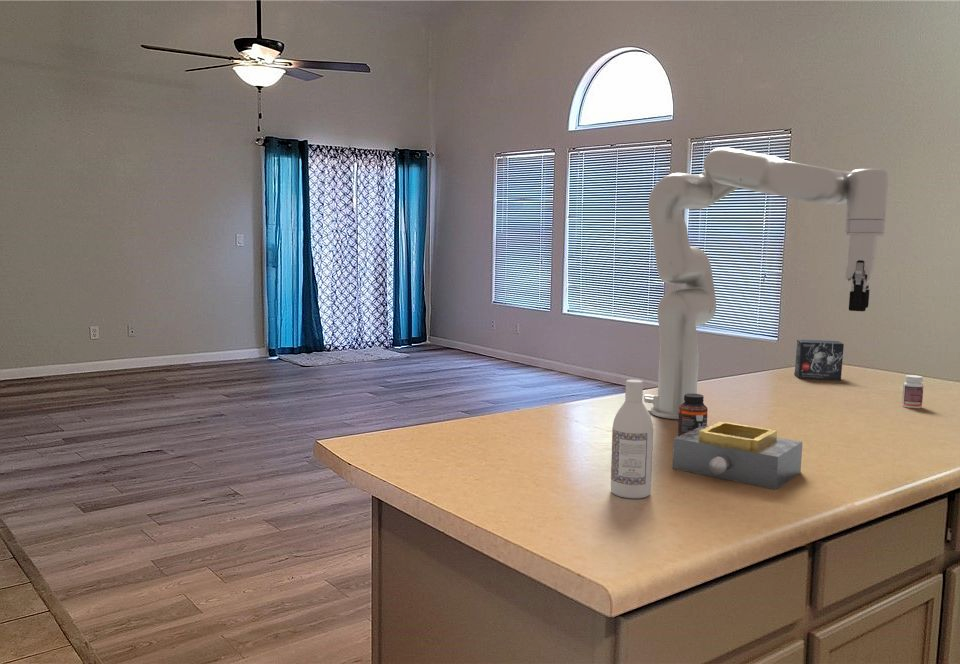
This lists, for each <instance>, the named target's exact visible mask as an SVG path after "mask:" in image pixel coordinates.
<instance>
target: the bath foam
mask: <svg viewBox="0 0 960 664" xmlns="http://www.w3.org/2000/svg"><path fill="white" fill-rule="evenodd" d="M643 395H644V381H643V380H642V379H641V380H640V379H626V381H625V396H624V397H625V399H624V400H625V401H624V402H623V403H622V404H621V406H620V407H619V409H618V410H617V412H616V414H615V416H614V419H613V423H612V429H611V430H612V432H611V433H612V434H611V435H612V437H611V438H612V439H611V459H610V460H611V461H610V463H611V465H610V492H611V493H612V494H613V495H615V496H617V497H621V498H624V499H633V500H634V499H643V498H647V497H648V496H649V495H651V493H652V491H651V490H652V473H653V468H652V467H653V445H654V444H653V443H654V423H653V420H652V417H651V413H650V412H649V411H648V409H647V407H646V405H645V403H644V402H643V399H644V397H643Z"/></svg>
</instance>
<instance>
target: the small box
mask: <svg viewBox="0 0 960 664" xmlns="http://www.w3.org/2000/svg"><path fill="white" fill-rule="evenodd" d="M844 346H845V345H844V343H843V342H841V341H839V340H822V339H819V340H818V339H801V338H800V339H799V338H798V339H796V351H795V363H794V373H793V375H795V376H796V377H797V378H798V379H802V380H803V379H804V380H806V379H807V380H830V381H841V380H842V371H843V370H842V369H843V358H844V349H845V348H844Z"/></svg>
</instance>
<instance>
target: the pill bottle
mask: <svg viewBox="0 0 960 664" xmlns="http://www.w3.org/2000/svg"><path fill="white" fill-rule="evenodd" d="M923 381H924V380H923V376H920V375H913V374H907V375H905V382H904V383H903V386H902V398H901V399H902V400H901V401H902V402H901V403H902V404H901V405H902V407H903V408H908V409H921V408H923V397H924V384H923Z"/></svg>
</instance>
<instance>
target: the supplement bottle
mask: <svg viewBox="0 0 960 664" xmlns="http://www.w3.org/2000/svg"><path fill="white" fill-rule="evenodd" d="M684 401H685V402H684V403H683V404H681V405H680V407H679V419H677V420H678V422H677V423H678V425H677V437H678V436H680V435H682V434H685V433H687V432H689V431H692V430H694V429H696V428H698V427H701V426H708V412H709V411H708V407H707V406H706V404H705V403H704V395H703V394H700V393H697V394H685V395H684Z"/></svg>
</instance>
